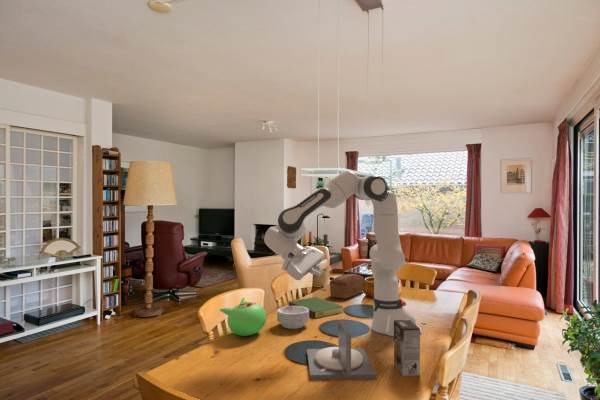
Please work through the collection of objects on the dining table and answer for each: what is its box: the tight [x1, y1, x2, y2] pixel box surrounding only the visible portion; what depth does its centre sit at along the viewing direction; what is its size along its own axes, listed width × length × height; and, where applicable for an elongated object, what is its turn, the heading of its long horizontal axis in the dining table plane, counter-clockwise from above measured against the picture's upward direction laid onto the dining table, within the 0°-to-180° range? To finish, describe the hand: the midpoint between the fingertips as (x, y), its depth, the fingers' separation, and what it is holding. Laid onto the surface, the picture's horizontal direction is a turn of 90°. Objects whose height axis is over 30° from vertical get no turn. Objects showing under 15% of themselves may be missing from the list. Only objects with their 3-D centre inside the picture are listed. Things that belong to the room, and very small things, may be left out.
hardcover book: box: [288, 296, 343, 319], centre depth 205 cm, size 25×19×4 cm
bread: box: [329, 273, 365, 300], centre depth 239 cm, size 14×28×12 cm, turn 144°
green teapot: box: [219, 297, 267, 337], centre depth 167 cm, size 18×17×15 cm
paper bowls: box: [276, 305, 310, 330], centre depth 178 cm, size 15×15×8 cm
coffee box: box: [393, 320, 421, 377], centre depth 131 cm, size 9×6×16 cm
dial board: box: [306, 347, 377, 381], centre depth 135 cm, size 22×22×2 cm
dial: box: [315, 320, 363, 376], centre depth 132 cm, size 24×17×15 cm
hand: (321, 274), depth 153 cm, fingers closed
